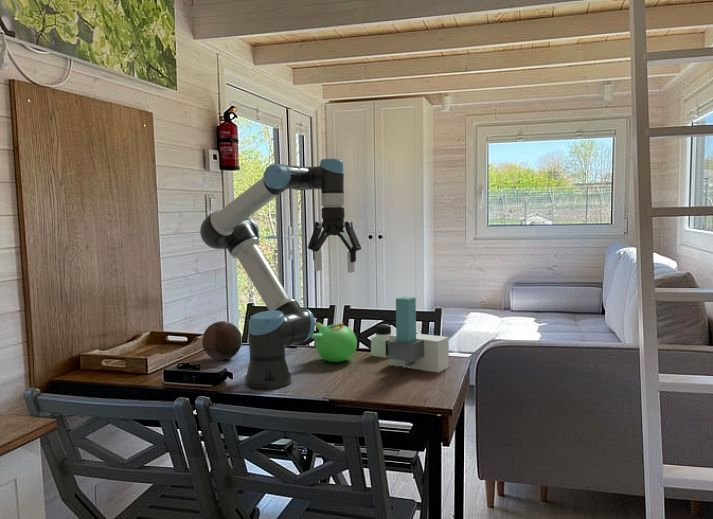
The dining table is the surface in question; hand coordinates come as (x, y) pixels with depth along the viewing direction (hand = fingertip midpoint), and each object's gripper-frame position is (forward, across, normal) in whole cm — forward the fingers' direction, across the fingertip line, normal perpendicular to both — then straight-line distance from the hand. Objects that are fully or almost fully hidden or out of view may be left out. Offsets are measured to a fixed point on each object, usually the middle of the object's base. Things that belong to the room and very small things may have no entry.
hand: (334, 271), depth 193 cm
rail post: (+31, -14, -22) cm, 40 cm away
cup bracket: (+35, -14, -22) cm, 43 cm away
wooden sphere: (+37, +56, 0) cm, 67 cm away
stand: (+37, -14, -30) cm, 50 cm away
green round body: (+37, +17, -21) cm, 46 cm away
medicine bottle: (+37, +6, -38) cm, 53 cm away
